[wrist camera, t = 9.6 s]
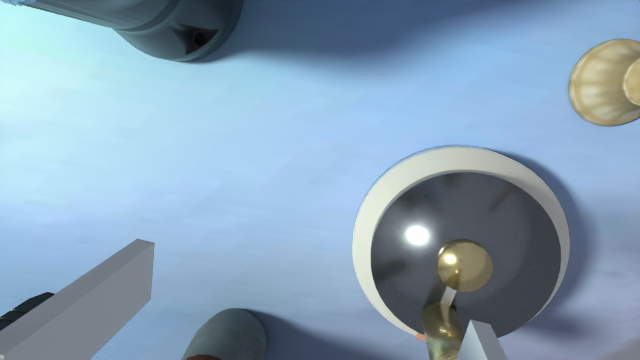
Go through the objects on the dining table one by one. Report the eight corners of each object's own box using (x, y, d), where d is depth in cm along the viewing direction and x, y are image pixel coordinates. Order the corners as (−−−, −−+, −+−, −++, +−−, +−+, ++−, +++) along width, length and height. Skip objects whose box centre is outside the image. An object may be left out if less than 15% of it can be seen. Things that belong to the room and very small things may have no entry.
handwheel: (402, 146, 37) (416, 168, 25) (583, 201, 36) (684, 251, 24) (349, 299, 41) (340, 378, 30) (508, 353, 40) (563, 457, 28)
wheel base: (380, 123, 40) (381, 126, 37) (588, 173, 38) (609, 180, 35) (334, 299, 46) (331, 315, 42) (515, 350, 44) (527, 371, 40)
